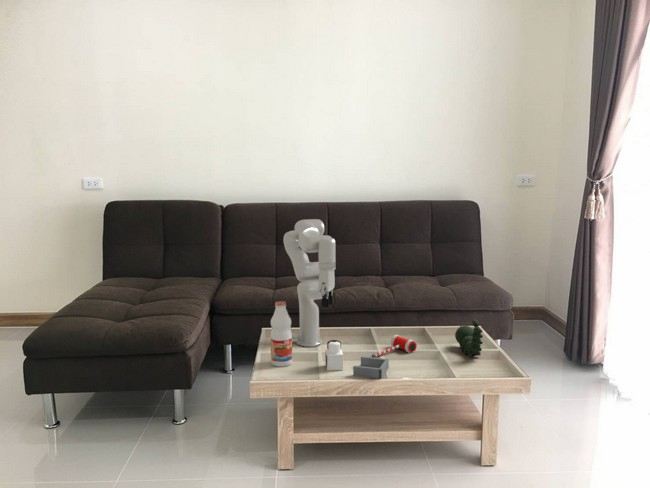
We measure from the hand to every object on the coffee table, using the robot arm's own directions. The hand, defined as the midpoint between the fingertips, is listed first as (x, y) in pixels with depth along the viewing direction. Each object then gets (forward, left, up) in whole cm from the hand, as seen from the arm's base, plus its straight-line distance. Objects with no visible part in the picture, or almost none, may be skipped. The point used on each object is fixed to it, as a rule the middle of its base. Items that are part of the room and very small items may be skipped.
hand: (327, 305), depth 263 cm
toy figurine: (+60, +30, -26) cm, 72 cm away
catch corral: (+22, -9, -25) cm, 35 cm away
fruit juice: (-18, -11, -26) cm, 33 cm away
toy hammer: (+27, +19, -26) cm, 42 cm away
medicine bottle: (+6, -9, -26) cm, 28 cm away
